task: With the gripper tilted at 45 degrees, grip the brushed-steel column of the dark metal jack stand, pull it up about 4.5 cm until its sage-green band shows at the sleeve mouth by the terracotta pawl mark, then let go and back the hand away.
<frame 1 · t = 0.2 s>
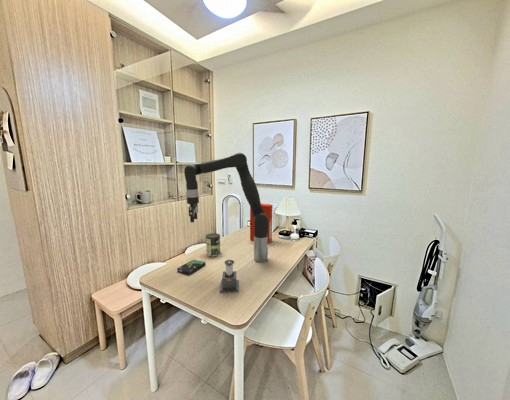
hand: (194, 220, 139), 29 cm above the table, tool pointing down, fingers open, 8 cm apart
coffee can: (213, 253, 157), on the table
disk drive: (191, 269, 135), on the table
stand: (229, 286, 115), on the table
file binder: (260, 240, 184), on the table
column: (229, 273, 113), point 8 cm above the table, slide at 0.0 cm
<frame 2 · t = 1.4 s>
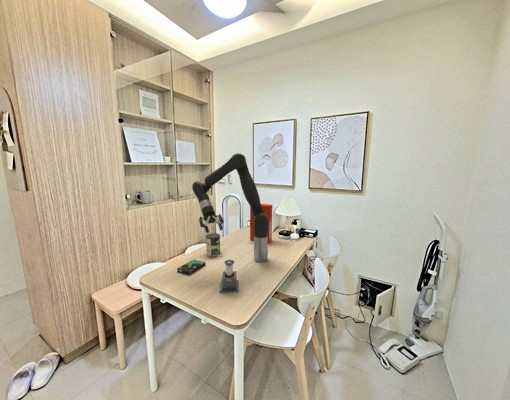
hand: (214, 231, 125), 26 cm above the table, tool tilted 45°, fingers open, 8 cm apart
nothing on the table moved.
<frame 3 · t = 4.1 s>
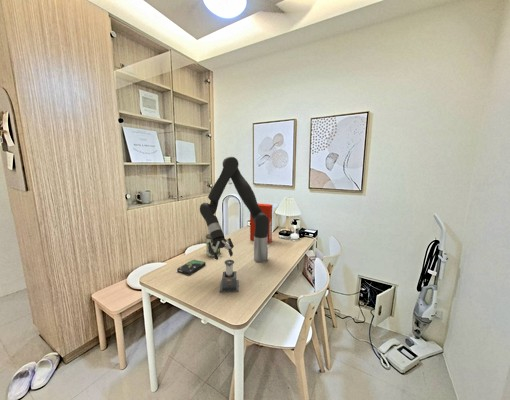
hand: (224, 257, 117), 15 cm above the table, tool tilted 45°, fingers open, 8 cm apart
nothing on the table moved.
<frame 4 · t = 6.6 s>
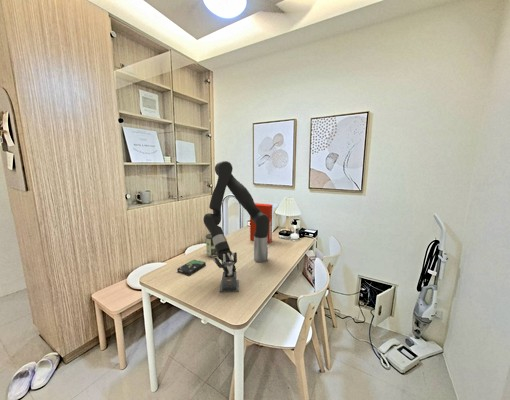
hand: (231, 272, 112), 9 cm above the table, tool tilted 45°, fingers closed on column, 3 cm apart
column: (229, 273, 113), point 8 cm above the table, slide at 0.0 cm, touching gripper
everything else where it was.
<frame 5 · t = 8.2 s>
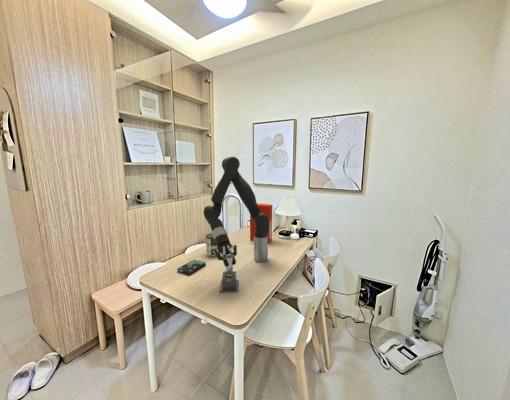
hand: (231, 265, 111), 13 cm above the table, tool tilted 45°, fingers closed on column, 3 cm apart
column: (229, 265, 113), point 12 cm above the table, slide at 4.3 cm, touching gripper
everything else where it was.
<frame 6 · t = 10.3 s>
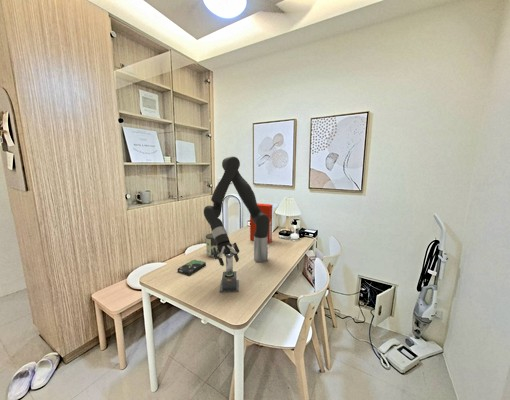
hand: (230, 263, 111), 14 cm above the table, tool tilted 45°, fingers open, 8 cm apart
column: (229, 265, 113), point 12 cm above the table, slide at 4.5 cm
everything else where it was.
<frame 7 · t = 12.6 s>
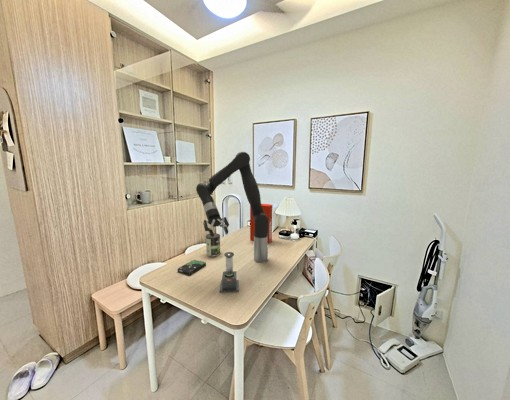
hand: (220, 235, 119), 26 cm above the table, tool tilted 45°, fingers open, 8 cm apart
nothing on the table moved.
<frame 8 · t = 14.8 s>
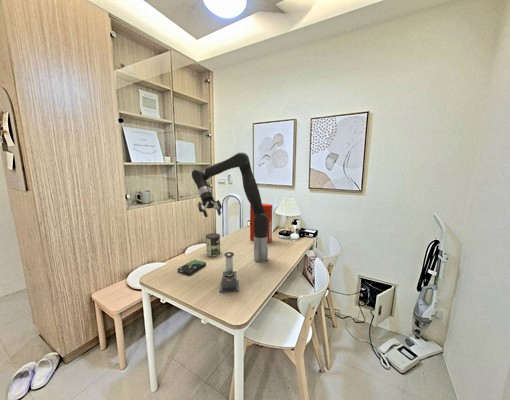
hand: (213, 215, 129), 35 cm above the table, tool tilted 45°, fingers open, 8 cm apart
nothing on the table moved.
at the end: column slide at 4.5 cm; the gripper is holding nothing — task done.
